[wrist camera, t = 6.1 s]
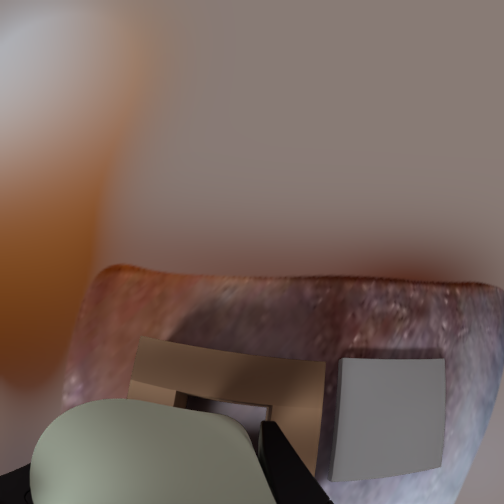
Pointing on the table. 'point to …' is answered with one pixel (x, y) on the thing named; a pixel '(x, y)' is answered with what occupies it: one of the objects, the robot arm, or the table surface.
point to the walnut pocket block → (235, 386)
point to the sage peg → (145, 457)
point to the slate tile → (387, 418)
